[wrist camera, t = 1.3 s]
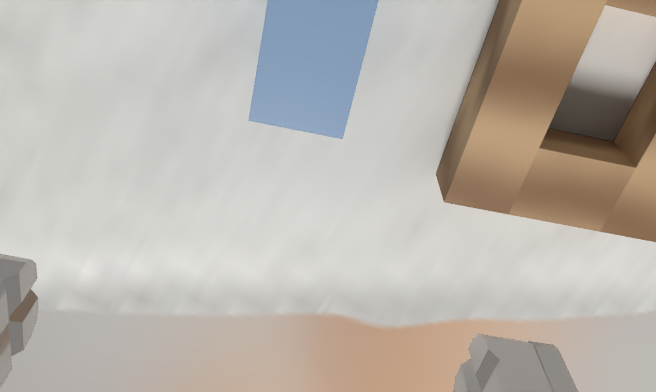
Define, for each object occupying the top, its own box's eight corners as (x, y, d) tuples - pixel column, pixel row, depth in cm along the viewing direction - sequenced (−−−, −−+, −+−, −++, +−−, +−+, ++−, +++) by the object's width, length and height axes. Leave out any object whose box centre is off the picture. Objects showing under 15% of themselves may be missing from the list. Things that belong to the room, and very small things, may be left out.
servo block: (291, -99, 27) (279, -71, 21) (375, -79, 28) (389, -45, 21) (261, 81, 32) (243, 151, 25) (333, 96, 33) (334, 169, 26)
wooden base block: (545, -125, 27) (567, -119, 24) (800, -59, 28) (847, -47, 26) (435, 174, 35) (444, 202, 33) (637, 213, 37) (660, 242, 34)
